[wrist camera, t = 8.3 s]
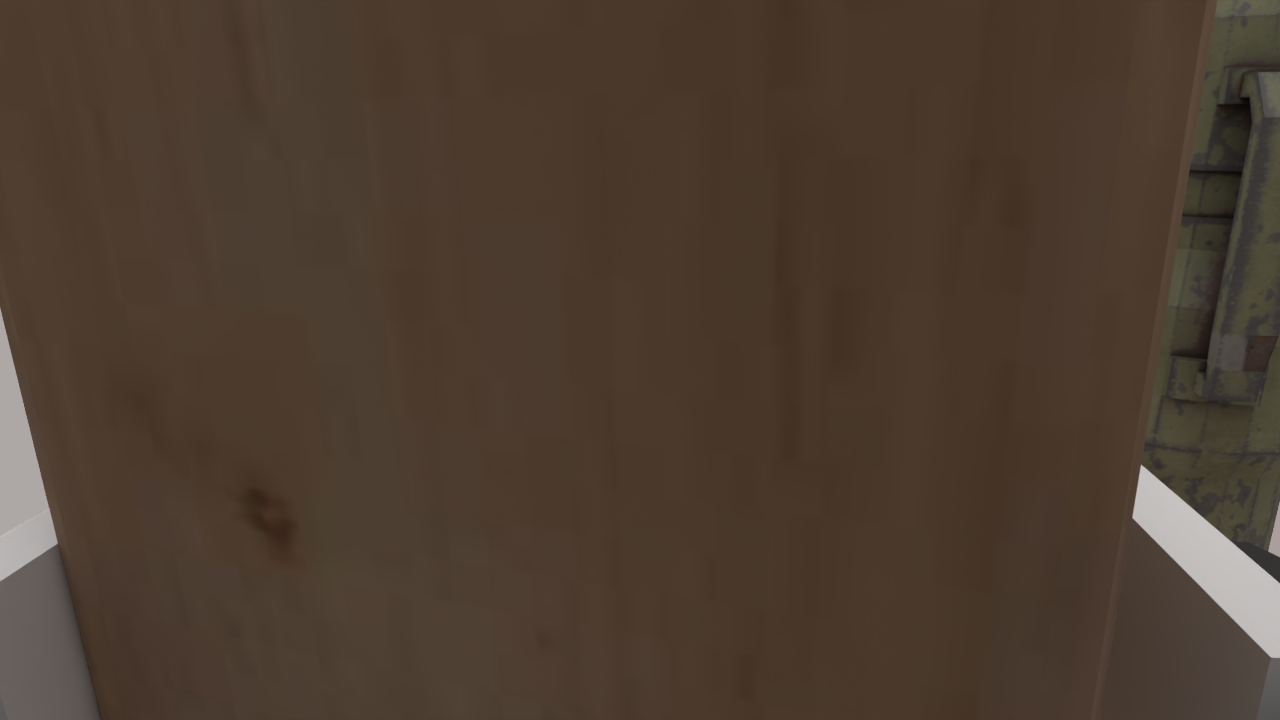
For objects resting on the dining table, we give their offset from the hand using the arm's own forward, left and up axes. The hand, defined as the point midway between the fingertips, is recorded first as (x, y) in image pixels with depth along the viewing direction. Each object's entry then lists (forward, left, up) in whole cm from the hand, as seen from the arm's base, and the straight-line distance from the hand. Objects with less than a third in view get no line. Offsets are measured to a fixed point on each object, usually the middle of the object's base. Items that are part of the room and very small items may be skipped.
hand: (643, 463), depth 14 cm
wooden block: (0, +2, -11) cm, 11 cm away
